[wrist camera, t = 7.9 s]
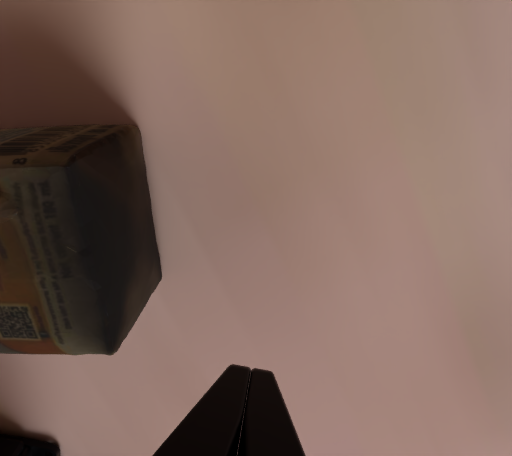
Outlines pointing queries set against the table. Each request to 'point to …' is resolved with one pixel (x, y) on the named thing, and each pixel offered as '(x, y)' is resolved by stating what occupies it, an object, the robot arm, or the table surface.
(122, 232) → the beverage carton
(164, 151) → the table surface
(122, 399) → the table surface
